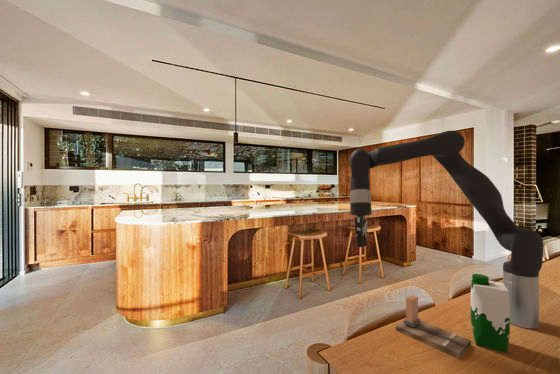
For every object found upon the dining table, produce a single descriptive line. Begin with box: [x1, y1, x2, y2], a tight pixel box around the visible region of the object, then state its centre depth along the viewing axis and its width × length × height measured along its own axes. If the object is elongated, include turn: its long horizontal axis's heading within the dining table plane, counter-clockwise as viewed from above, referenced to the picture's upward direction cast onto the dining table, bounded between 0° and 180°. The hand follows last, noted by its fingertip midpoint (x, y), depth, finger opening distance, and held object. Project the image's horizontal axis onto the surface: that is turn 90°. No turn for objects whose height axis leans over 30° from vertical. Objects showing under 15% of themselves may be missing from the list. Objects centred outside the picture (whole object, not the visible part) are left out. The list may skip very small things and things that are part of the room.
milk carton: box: [470, 273, 511, 354], centre depth 78 cm, size 9×9×20 cm
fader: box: [403, 294, 421, 327], centre depth 85 cm, size 3×5×8 cm, turn 127°
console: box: [395, 319, 472, 359], centre depth 81 cm, size 18×10×2 cm, turn 37°
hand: (362, 246), depth 93 cm, fingers open, 8 cm apart
